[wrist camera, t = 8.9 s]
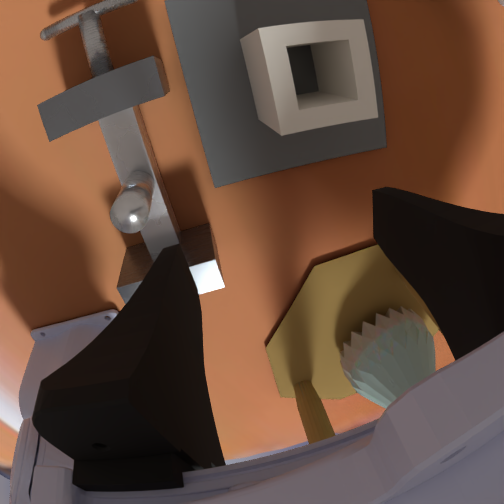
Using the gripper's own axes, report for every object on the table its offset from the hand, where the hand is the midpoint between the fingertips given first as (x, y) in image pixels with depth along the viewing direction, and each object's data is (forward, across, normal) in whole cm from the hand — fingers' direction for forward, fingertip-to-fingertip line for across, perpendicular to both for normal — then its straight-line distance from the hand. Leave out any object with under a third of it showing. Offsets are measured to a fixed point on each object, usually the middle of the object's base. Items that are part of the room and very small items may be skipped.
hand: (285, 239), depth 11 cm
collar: (+9, -4, -5) cm, 11 cm away
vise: (+10, +6, -3) cm, 12 cm away
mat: (+10, -4, -5) cm, 12 cm away
